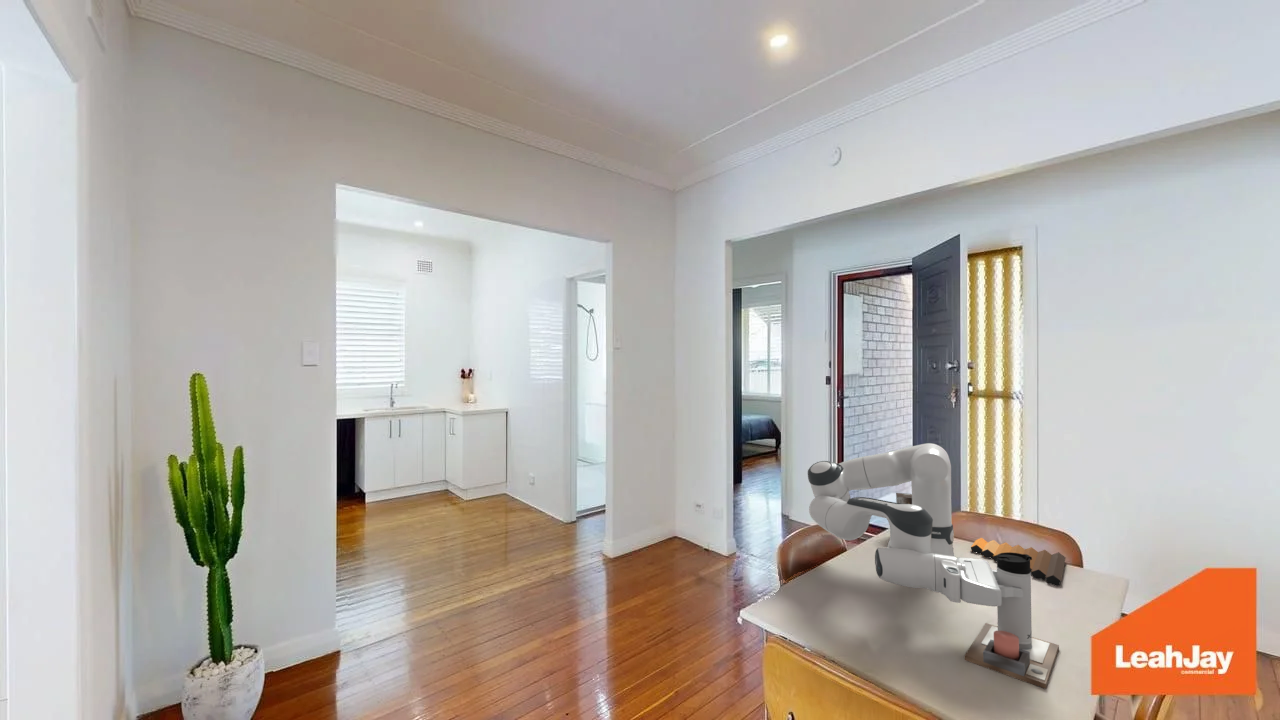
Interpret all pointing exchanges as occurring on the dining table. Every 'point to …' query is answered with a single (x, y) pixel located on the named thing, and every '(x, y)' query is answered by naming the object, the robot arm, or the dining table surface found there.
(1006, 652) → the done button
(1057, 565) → the pan flute
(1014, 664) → the brown board with holder
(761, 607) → the dining table surface
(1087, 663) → the dining table surface
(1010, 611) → the travel mug
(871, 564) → the dining table surface
